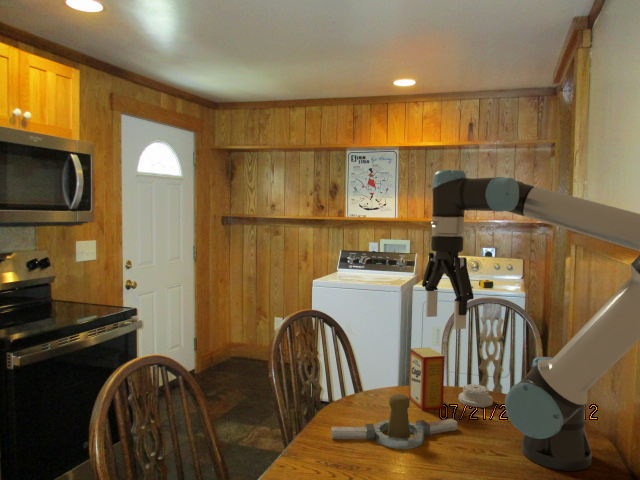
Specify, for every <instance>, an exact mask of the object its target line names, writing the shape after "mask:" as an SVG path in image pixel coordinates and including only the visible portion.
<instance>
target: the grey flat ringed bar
mask: <svg viewBox="0 0 640 480" xmlns="http://www.w3.org/2000/svg"><path fill="white" fill-rule="evenodd" d="M364 424H365V425H364V426H331V439H332V440H366V441H368V442H369V441H370V442H373V441H375V442H376V443H378V444H379V445H381V446H383V447H386V448H390V449H394V450H395V449H396V450H411V449H414V448H415V449H416V448H418V447H420V446H421V445H423V443H424V441H425V438H426V437H431V435H436V434H441V433H446V432H452V431H453V432H454V431H457V430H458V421H456V420H455V419H454V418H447V419H442V420H433V421H430V422H426V421H425V420H424V419H418V420H416V421H415V423H414V422H412V421H411V422H410V421H409V429H410V434H413V436H410V438H394V437H389V436H387V434H384V433H383V432H386V431H388V426H389V419H385V420H381V421H379V422H377V423H375V425H374V423H364Z"/></svg>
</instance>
